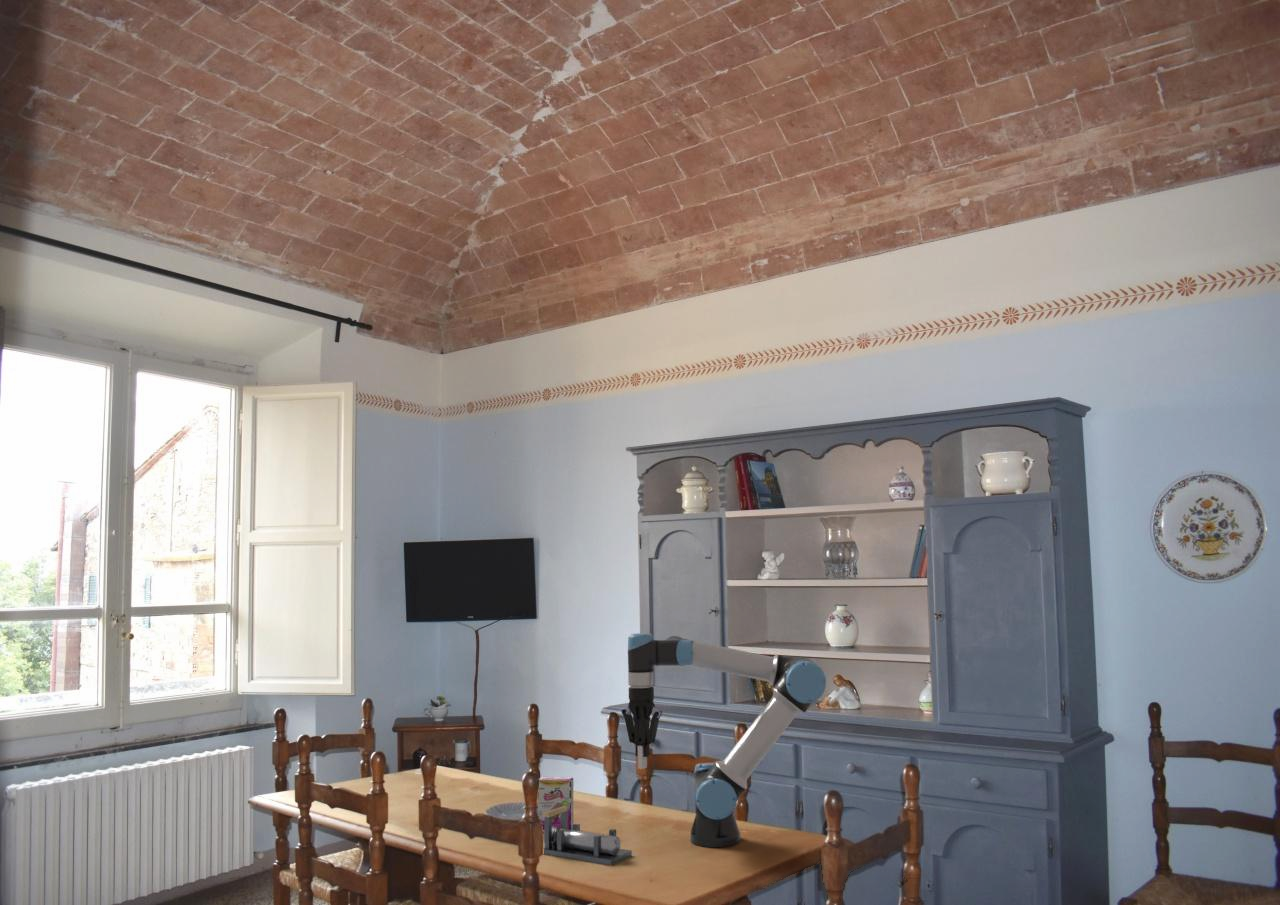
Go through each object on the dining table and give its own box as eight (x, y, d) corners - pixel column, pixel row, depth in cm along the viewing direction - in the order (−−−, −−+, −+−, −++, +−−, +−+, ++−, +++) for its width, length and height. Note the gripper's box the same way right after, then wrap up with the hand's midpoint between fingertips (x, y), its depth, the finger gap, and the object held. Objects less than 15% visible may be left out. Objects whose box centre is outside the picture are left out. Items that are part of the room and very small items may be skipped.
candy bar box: (536, 833, 322) (536, 779, 324) (539, 829, 327) (539, 776, 329) (571, 833, 321) (571, 779, 323) (574, 829, 326) (573, 776, 328)
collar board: (631, 855, 294) (631, 814, 296) (610, 865, 285) (610, 822, 286) (564, 845, 307) (564, 805, 308) (542, 854, 298) (542, 813, 299)
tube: (620, 853, 292) (620, 834, 293) (610, 857, 288) (610, 838, 289) (552, 842, 305) (553, 824, 305) (542, 846, 300) (542, 827, 301)
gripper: (666, 685, 301) (668, 767, 299) (629, 683, 308) (630, 763, 306) (653, 688, 295) (655, 772, 292) (615, 686, 302) (617, 768, 299)
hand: (642, 767), depth 299 cm, fingers closed
